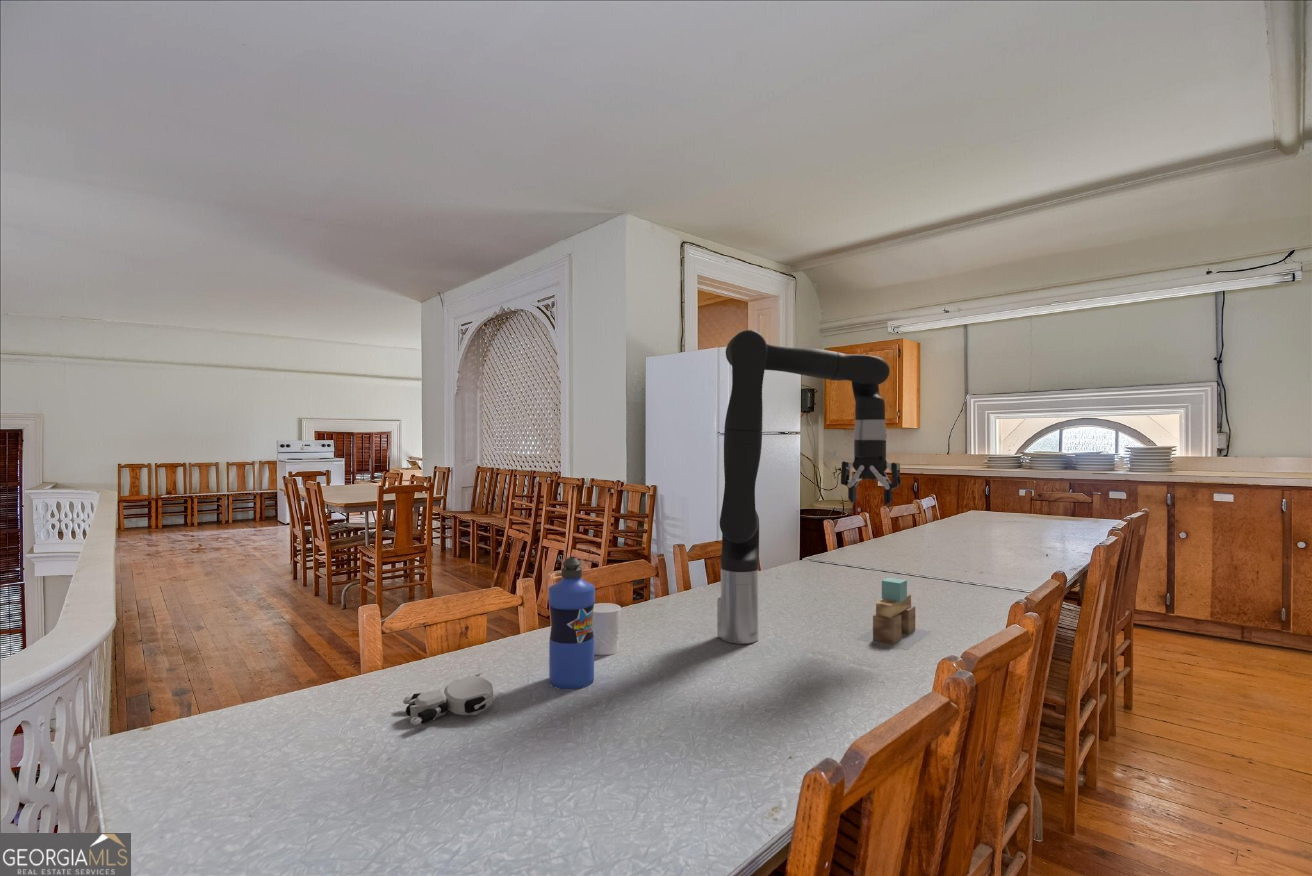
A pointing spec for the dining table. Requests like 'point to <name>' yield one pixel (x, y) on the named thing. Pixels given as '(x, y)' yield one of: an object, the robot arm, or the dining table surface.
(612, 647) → the white cup
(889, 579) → the cube
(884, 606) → the plank
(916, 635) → the board
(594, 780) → the dining table surface
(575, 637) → the water bottle
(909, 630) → the pillar
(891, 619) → the pillar
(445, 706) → the robot toy
